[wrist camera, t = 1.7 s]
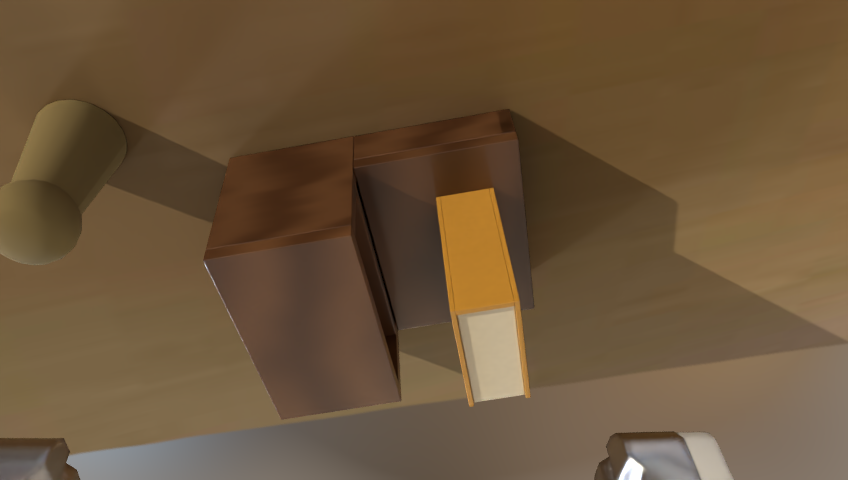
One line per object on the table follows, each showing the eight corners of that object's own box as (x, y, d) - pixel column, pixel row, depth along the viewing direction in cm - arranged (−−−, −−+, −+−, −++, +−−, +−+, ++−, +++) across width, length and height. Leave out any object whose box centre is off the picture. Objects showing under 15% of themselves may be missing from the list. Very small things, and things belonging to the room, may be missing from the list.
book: (493, 187, 49) (519, 300, 41) (505, 281, 55) (530, 397, 47) (435, 197, 50) (450, 311, 41) (453, 289, 55) (469, 407, 47)
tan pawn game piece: (28, 158, 50) (-40, 264, 42) (38, 86, 47) (-34, 185, 38) (118, 185, 52) (71, 291, 44) (134, 118, 49) (86, 218, 40)
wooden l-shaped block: (509, 108, 50) (538, 203, 42) (525, 274, 60) (551, 378, 52) (229, 157, 51) (202, 260, 43) (292, 312, 61) (281, 419, 53)
